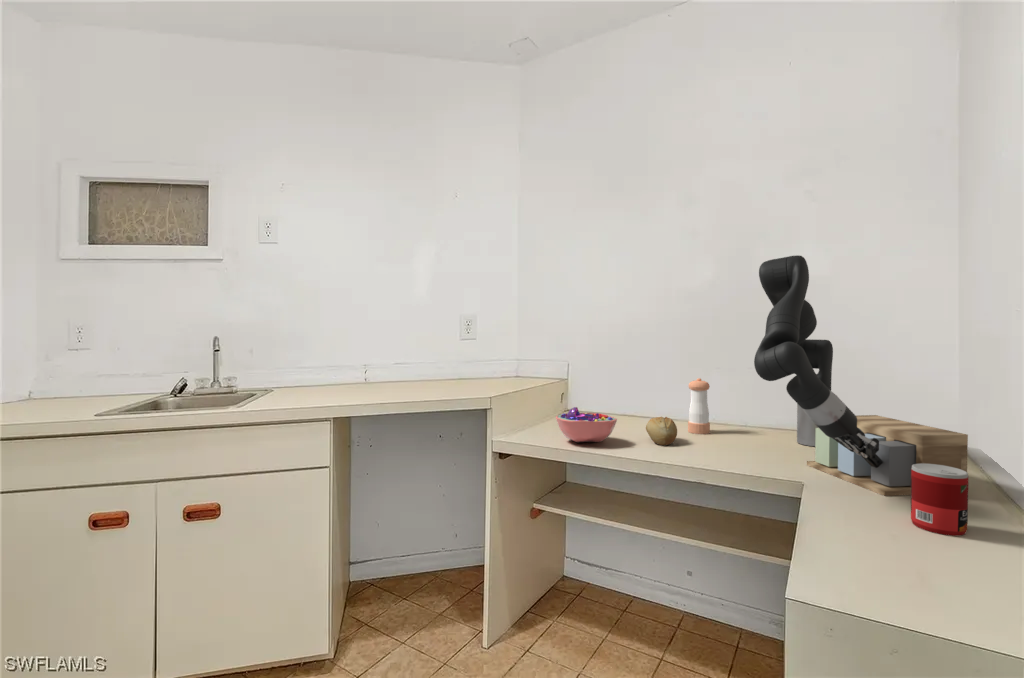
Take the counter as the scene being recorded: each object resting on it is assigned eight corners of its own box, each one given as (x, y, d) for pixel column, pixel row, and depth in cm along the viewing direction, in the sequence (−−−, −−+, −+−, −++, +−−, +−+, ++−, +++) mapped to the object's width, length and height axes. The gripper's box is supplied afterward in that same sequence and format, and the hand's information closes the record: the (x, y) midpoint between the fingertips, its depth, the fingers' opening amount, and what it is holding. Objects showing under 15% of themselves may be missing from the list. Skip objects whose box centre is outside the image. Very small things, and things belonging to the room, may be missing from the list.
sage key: (815, 461, 132) (815, 427, 131) (850, 460, 132) (850, 427, 132) (829, 466, 127) (829, 431, 126) (865, 465, 127) (865, 430, 127)
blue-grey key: (837, 470, 124) (838, 434, 123) (874, 468, 125) (875, 433, 124) (853, 476, 119) (853, 438, 118) (891, 474, 120) (892, 437, 119)
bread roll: (670, 436, 169) (670, 413, 169) (682, 447, 154) (682, 421, 154) (641, 436, 170) (642, 413, 170) (651, 446, 155) (651, 421, 155)
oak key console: (806, 464, 133) (807, 416, 133) (875, 462, 135) (875, 415, 135) (884, 495, 109) (885, 436, 108) (966, 492, 111) (967, 434, 110)
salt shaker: (713, 434, 172) (713, 379, 172) (692, 434, 172) (692, 379, 172) (705, 429, 179) (705, 377, 179) (685, 429, 179) (685, 377, 179)
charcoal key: (870, 479, 116) (871, 441, 116) (910, 478, 117) (910, 440, 117) (889, 486, 111) (889, 446, 111) (929, 484, 112) (930, 445, 112)
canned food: (972, 540, 86) (973, 477, 86) (913, 530, 90) (914, 470, 90) (961, 525, 93) (962, 467, 92) (907, 516, 97) (908, 461, 97)
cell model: (612, 450, 150) (612, 413, 150) (549, 445, 157) (549, 410, 157) (620, 438, 166) (620, 405, 165) (562, 434, 173) (562, 402, 172)
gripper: (862, 405, 105) (914, 460, 107) (818, 396, 119) (865, 445, 120) (838, 430, 105) (891, 485, 107) (797, 418, 118) (844, 467, 120)
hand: (877, 464), depth 113 cm, fingers closed
